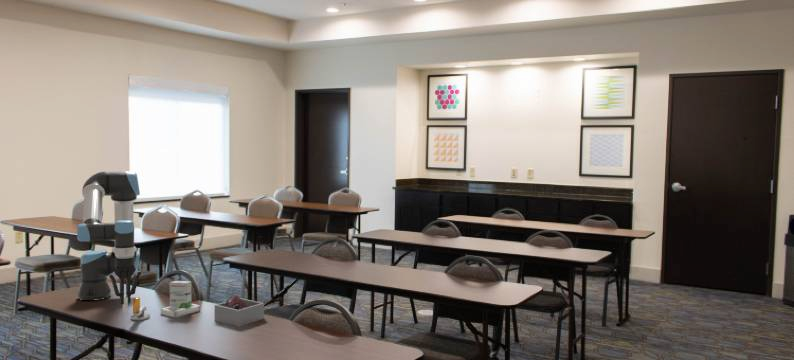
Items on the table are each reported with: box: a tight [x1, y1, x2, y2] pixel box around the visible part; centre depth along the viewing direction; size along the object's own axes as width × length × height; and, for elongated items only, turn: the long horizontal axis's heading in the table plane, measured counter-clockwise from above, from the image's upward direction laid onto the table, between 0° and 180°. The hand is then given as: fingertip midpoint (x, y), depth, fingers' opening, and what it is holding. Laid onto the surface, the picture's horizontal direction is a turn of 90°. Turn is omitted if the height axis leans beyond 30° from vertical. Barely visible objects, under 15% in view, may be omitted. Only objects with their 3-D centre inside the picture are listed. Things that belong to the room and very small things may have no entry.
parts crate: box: [214, 297, 265, 328], centre depth 274 cm, size 15×15×7 cm
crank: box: [132, 296, 148, 316], centre depth 270 cm, size 12×5×8 cm, turn 11°
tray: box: [160, 303, 201, 319], centre depth 283 cm, size 10×14×2 cm
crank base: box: [130, 311, 151, 321], centre depth 274 cm, size 8×8×3 cm
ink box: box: [169, 280, 193, 309], centre depth 283 cm, size 9×5×12 cm, turn 84°
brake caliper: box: [222, 294, 246, 310], centre depth 275 cm, size 11×11×12 cm
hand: (125, 311), depth 263 cm, fingers closed
